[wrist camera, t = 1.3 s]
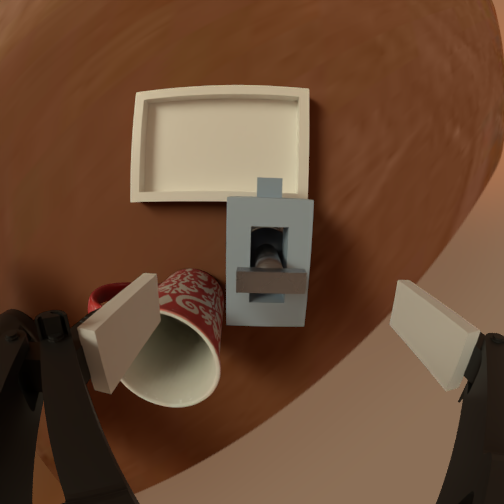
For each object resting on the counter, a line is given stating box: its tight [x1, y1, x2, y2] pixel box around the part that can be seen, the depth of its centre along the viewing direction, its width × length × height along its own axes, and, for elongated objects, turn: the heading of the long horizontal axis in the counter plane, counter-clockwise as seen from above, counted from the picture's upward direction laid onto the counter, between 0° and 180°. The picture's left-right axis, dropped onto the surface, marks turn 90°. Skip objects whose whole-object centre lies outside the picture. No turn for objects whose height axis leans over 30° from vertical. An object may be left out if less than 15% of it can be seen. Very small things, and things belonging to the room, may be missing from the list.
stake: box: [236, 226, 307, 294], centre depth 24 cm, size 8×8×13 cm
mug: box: [88, 269, 224, 407], centre depth 25 cm, size 13×9×14 cm
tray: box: [130, 85, 309, 202], centre depth 27 cm, size 18×12×2 cm, turn 88°
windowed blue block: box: [226, 177, 314, 327], centre depth 24 cm, size 12×6×4 cm, turn 178°
